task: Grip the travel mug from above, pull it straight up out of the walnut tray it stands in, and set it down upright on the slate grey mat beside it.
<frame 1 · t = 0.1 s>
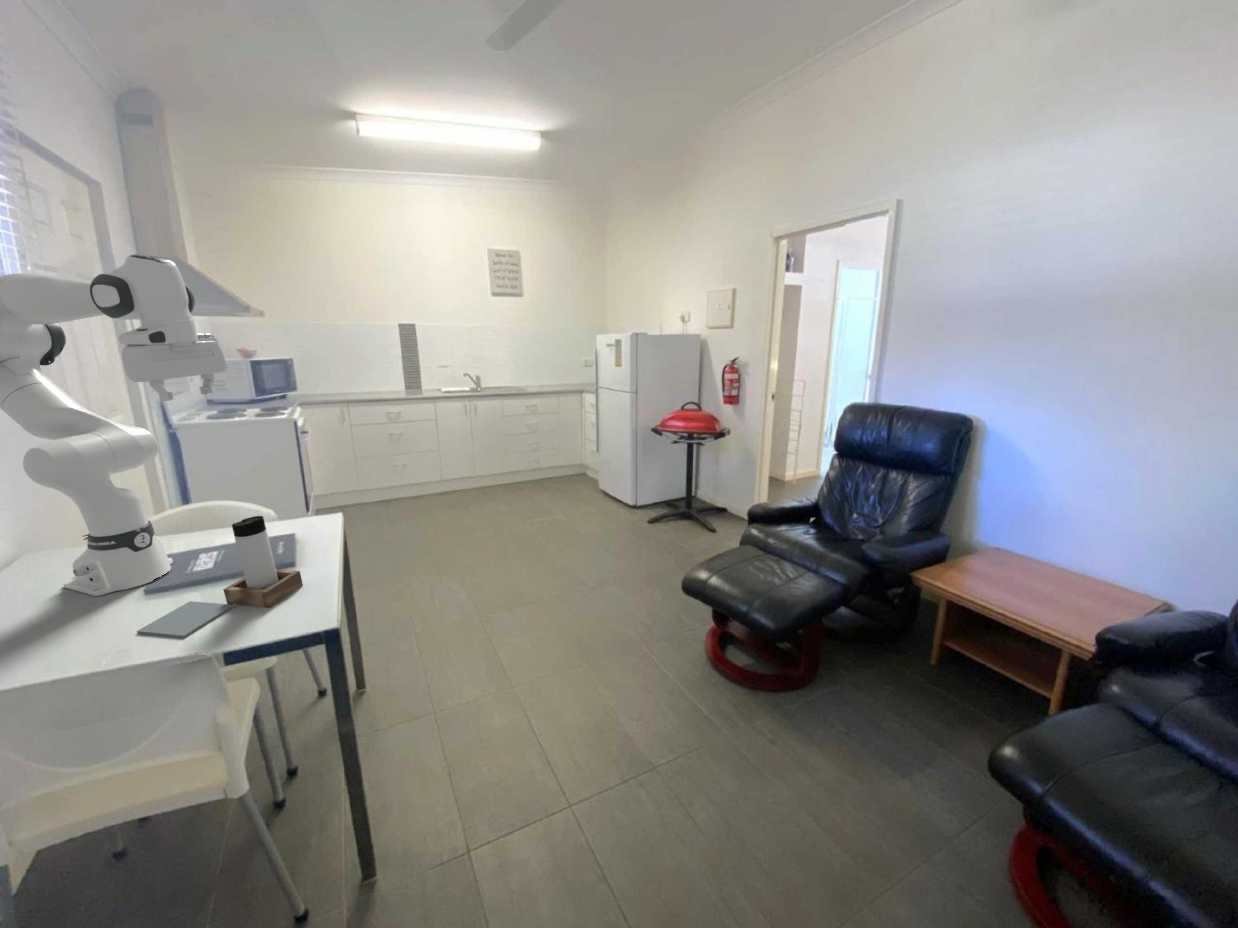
hand: (188, 397, 116), 48 cm above the table, tool pointing down, fingers open, 8 cm apart
walnut tray: (266, 594, 125), on the table
travel mug: (266, 595, 125), resting in walnut tray
slate mat: (187, 619, 115), on the table
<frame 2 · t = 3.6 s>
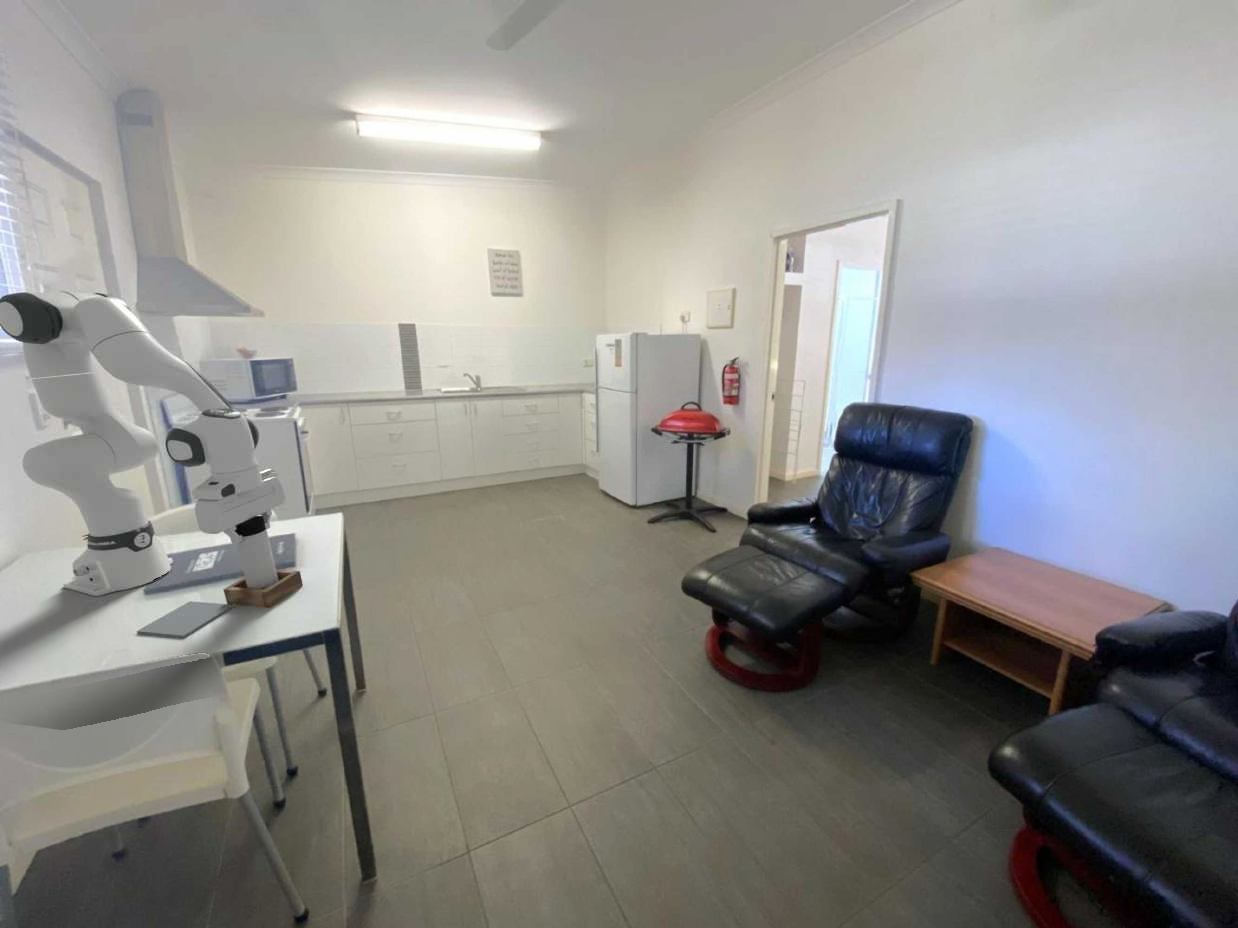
hand: (251, 535, 120), 16 cm above the table, tool pointing down, fingers closed on travel mug, 6 cm apart
travel mug: (266, 595, 125), resting in walnut tray, touching gripper
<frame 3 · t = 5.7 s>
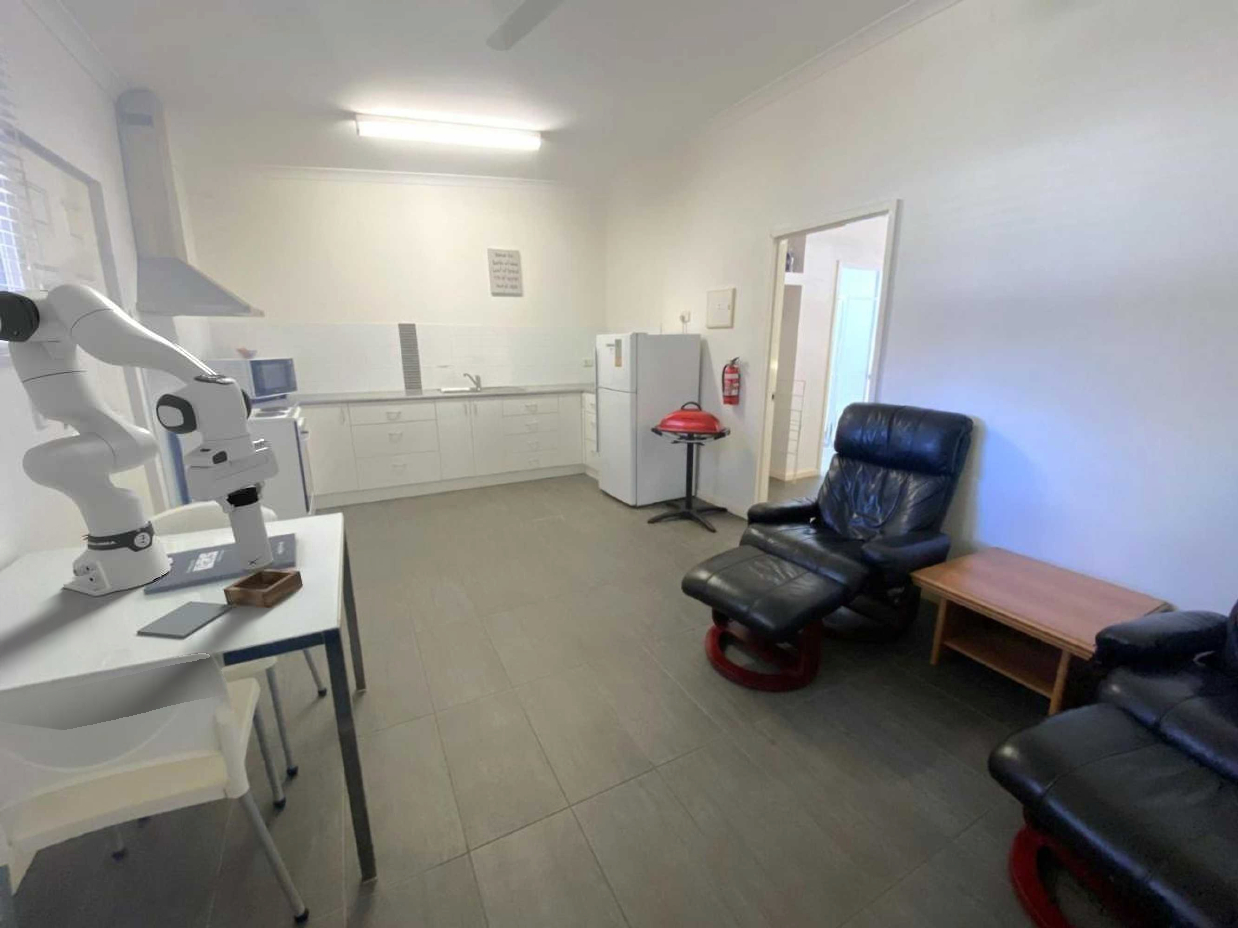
hand: (244, 506, 118), 23 cm above the table, tool pointing down, fingers closed on travel mug, 6 cm apart
travel mug: (259, 568, 123), point 7 cm above the table, touching gripper
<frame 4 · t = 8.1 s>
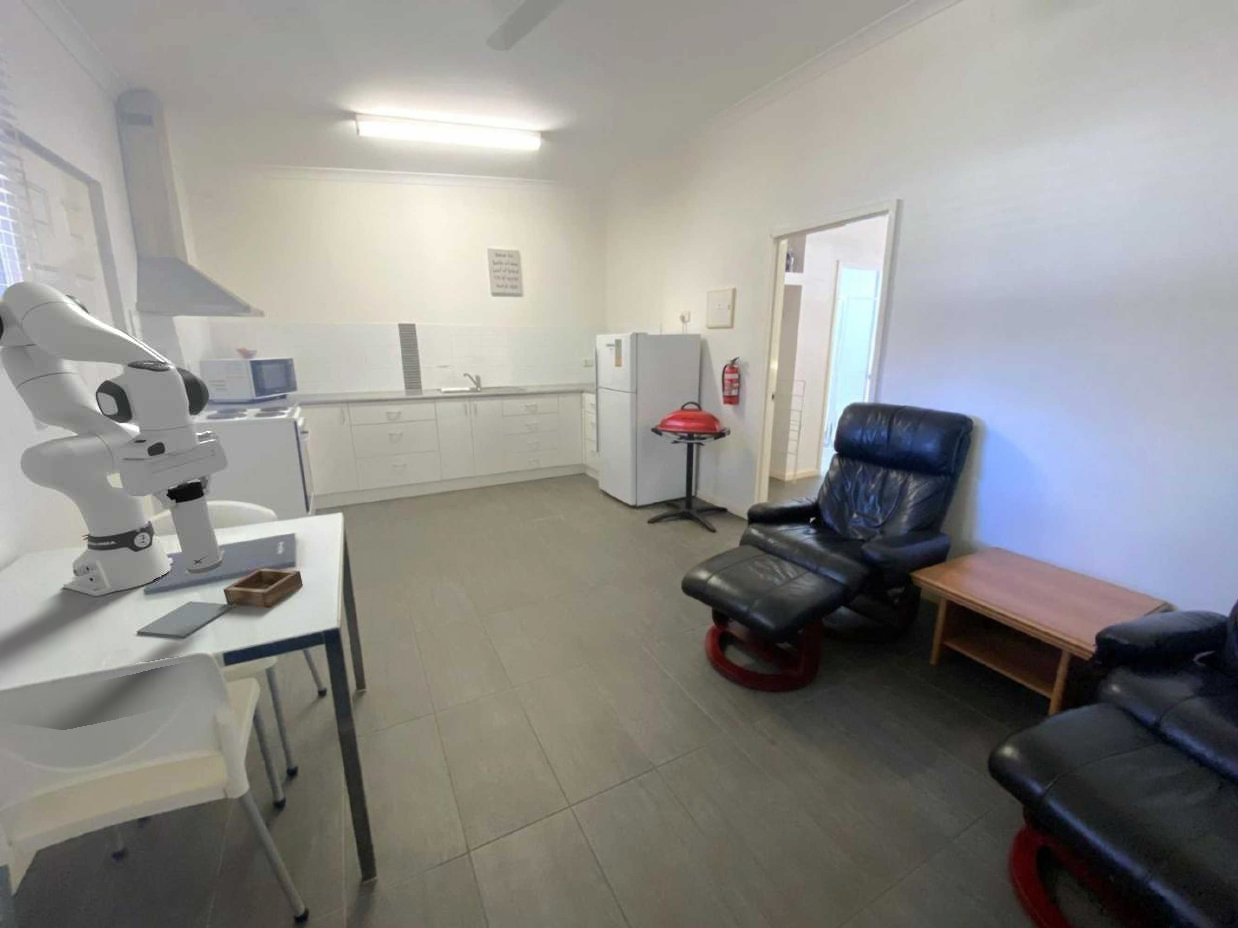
hand: (187, 501, 111), 27 cm above the table, tool pointing down, fingers closed on travel mug, 6 cm apart
travel mug: (206, 568, 116), point 11 cm above the table, touching gripper
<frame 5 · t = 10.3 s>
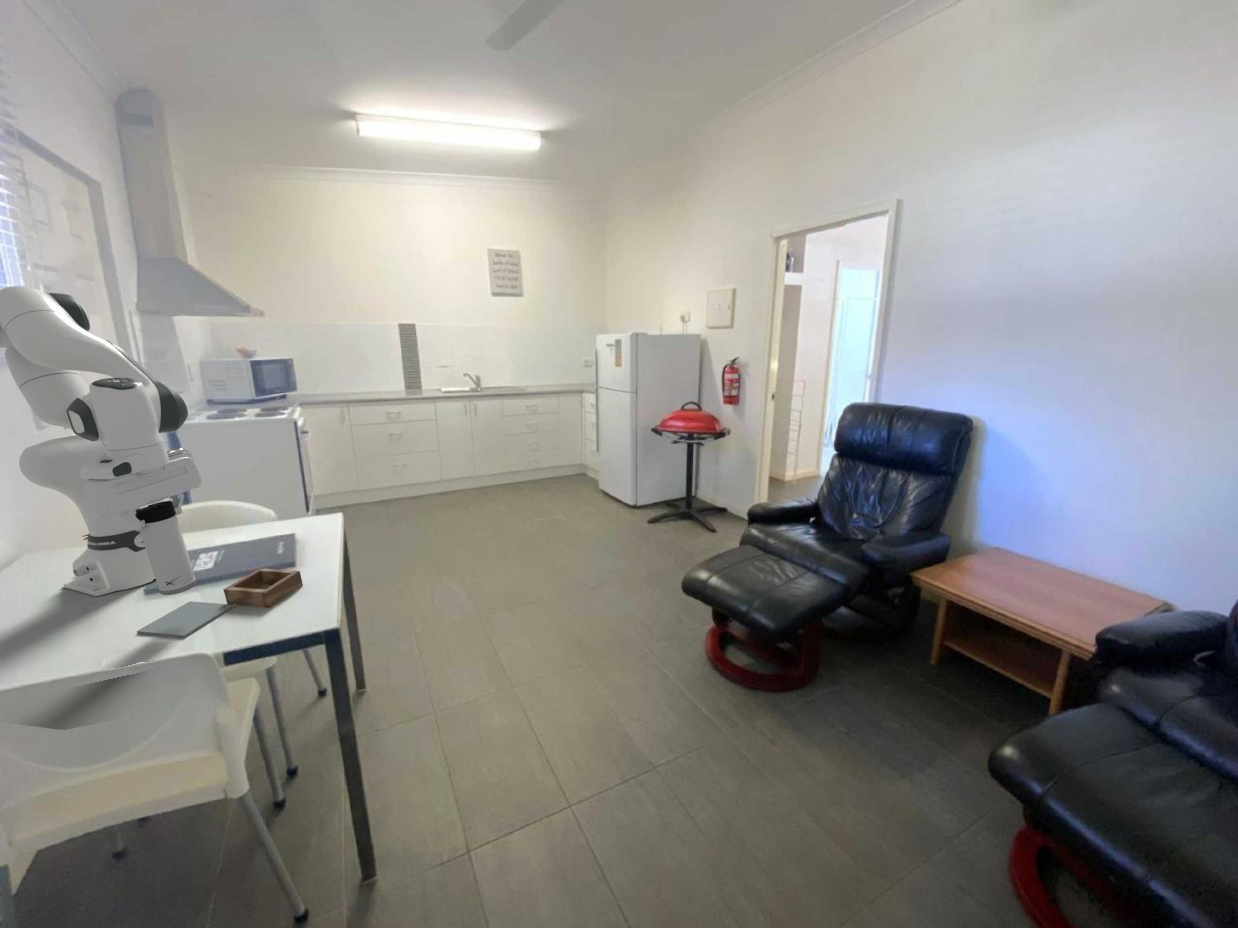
hand: (158, 521, 108), 24 cm above the table, tool pointing down, fingers closed on travel mug, 6 cm apart
travel mug: (179, 589, 113), point 8 cm above the table, touching gripper
when the fingers open (18 cm above the table, at t = 12.5 s): travel mug drops 1 cm, resting on slate mat.
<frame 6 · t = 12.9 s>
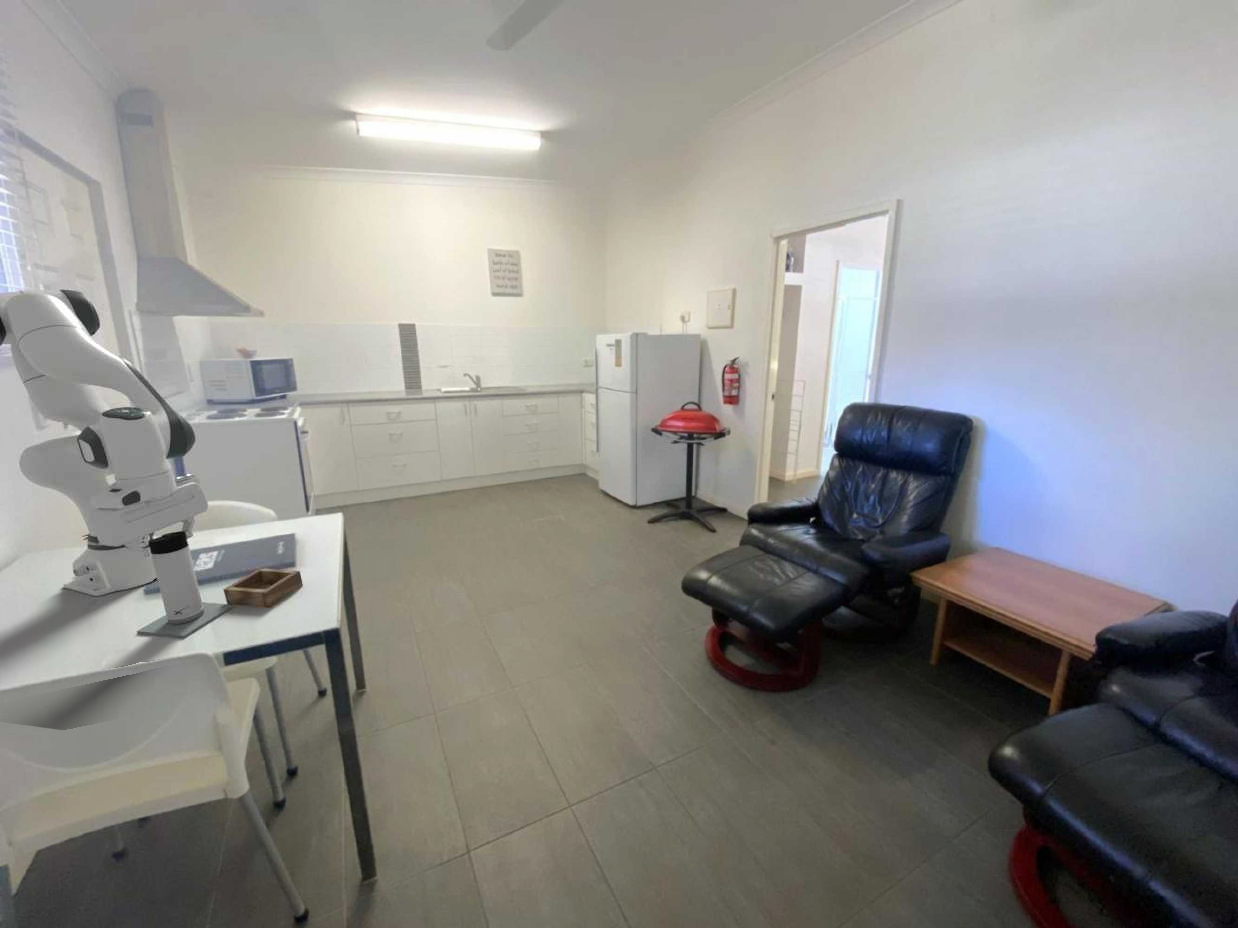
hand: (166, 547, 110), 18 cm above the table, tool pointing down, fingers open, 8 cm apart
travel mug: (187, 617, 115), point 1 cm above the table, touching slate mat
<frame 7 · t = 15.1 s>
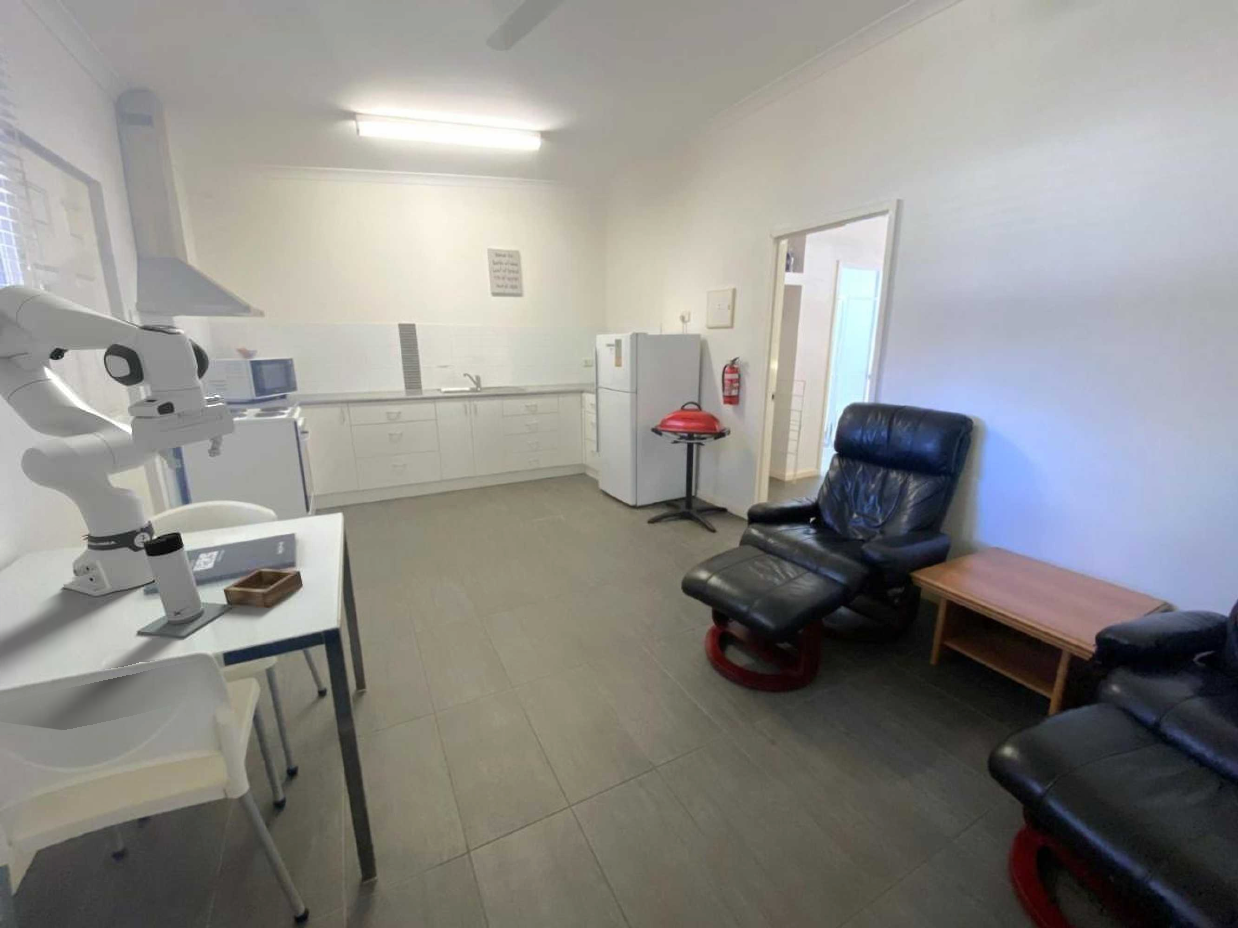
hand: (196, 461, 116), 34 cm above the table, tool pointing down, fingers open, 8 cm apart
nothing on the table moved.
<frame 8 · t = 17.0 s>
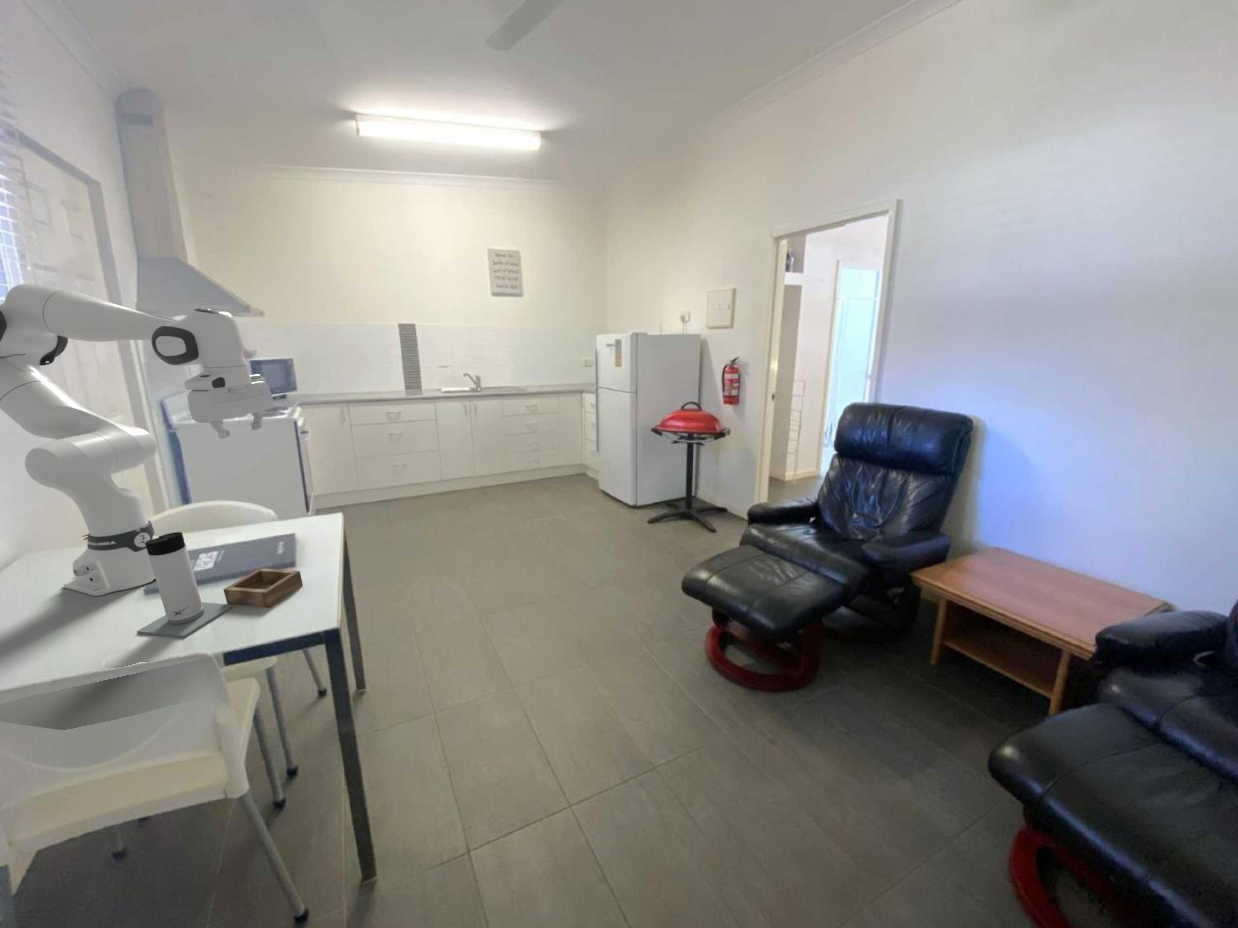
hand: (241, 433, 128), 37 cm above the table, tool pointing down, fingers open, 8 cm apart
nothing on the table moved.
at the end: travel mug inside the target area on the slate mat (0.0 cm from its centre), point 0.4 cm above the slate mat's base; travel mug tilted 0°; the gripper is holding nothing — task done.
